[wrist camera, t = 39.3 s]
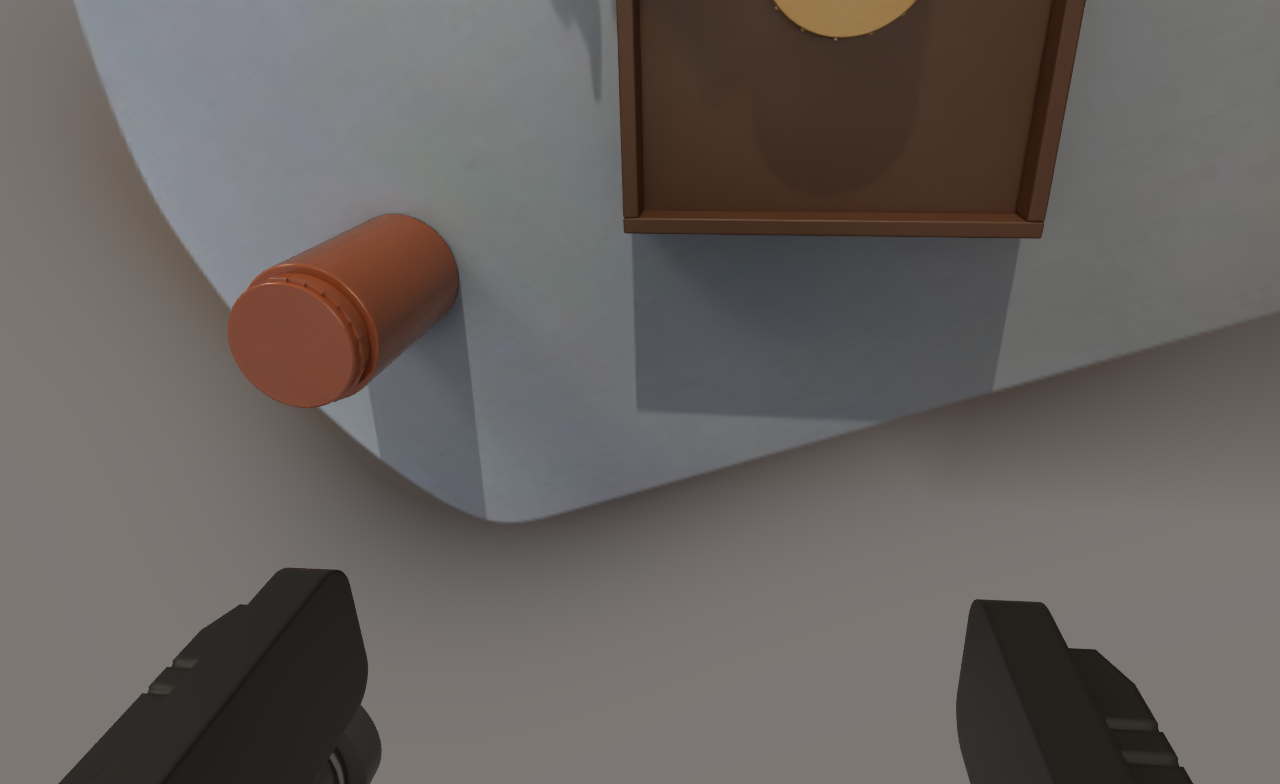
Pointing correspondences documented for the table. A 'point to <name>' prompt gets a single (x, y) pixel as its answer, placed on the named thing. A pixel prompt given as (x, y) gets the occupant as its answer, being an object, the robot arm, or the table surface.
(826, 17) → the jar lid
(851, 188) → the tray
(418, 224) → the jar
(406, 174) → the table surface
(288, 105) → the table surface
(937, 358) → the table surface
